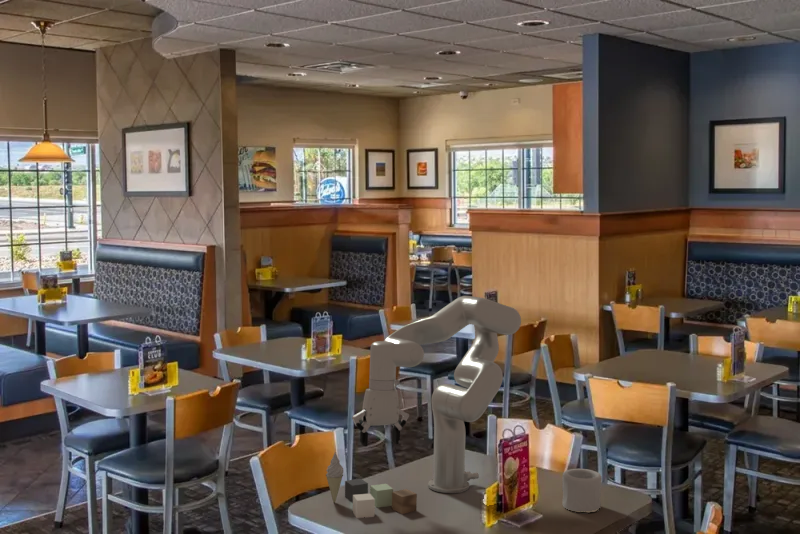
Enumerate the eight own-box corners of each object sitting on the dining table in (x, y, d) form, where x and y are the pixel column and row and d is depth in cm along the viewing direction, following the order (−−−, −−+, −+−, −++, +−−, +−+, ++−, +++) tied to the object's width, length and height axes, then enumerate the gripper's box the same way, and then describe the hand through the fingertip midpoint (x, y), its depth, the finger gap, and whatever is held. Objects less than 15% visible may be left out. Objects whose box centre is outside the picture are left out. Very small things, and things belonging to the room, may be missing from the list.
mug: (608, 510, 254) (609, 475, 253) (580, 516, 248) (581, 481, 248) (576, 496, 266) (577, 463, 265) (548, 502, 260) (549, 468, 259)
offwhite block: (369, 510, 251) (370, 493, 250) (374, 516, 246) (374, 499, 246) (352, 512, 249) (352, 494, 249) (356, 518, 245) (357, 500, 244)
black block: (360, 494, 264) (360, 478, 264) (367, 500, 260) (367, 483, 259) (344, 497, 262) (345, 480, 261) (352, 502, 257) (352, 485, 257)
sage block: (385, 500, 260) (386, 483, 259) (392, 505, 255) (393, 488, 255) (370, 502, 258) (370, 485, 257) (376, 508, 253) (376, 490, 253)
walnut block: (406, 505, 255) (406, 488, 255) (416, 511, 251) (416, 493, 251) (391, 509, 252) (392, 491, 252) (401, 514, 248) (402, 496, 248)
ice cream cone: (340, 506, 254) (340, 454, 253) (323, 504, 255) (323, 453, 254) (345, 500, 259) (345, 449, 258) (328, 499, 260) (328, 448, 259)
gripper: (404, 381, 261) (401, 439, 262) (349, 383, 254) (346, 443, 254) (415, 386, 254) (412, 445, 255) (358, 388, 247) (356, 449, 248)
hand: (379, 444), depth 255 cm, fingers open, 9 cm apart
